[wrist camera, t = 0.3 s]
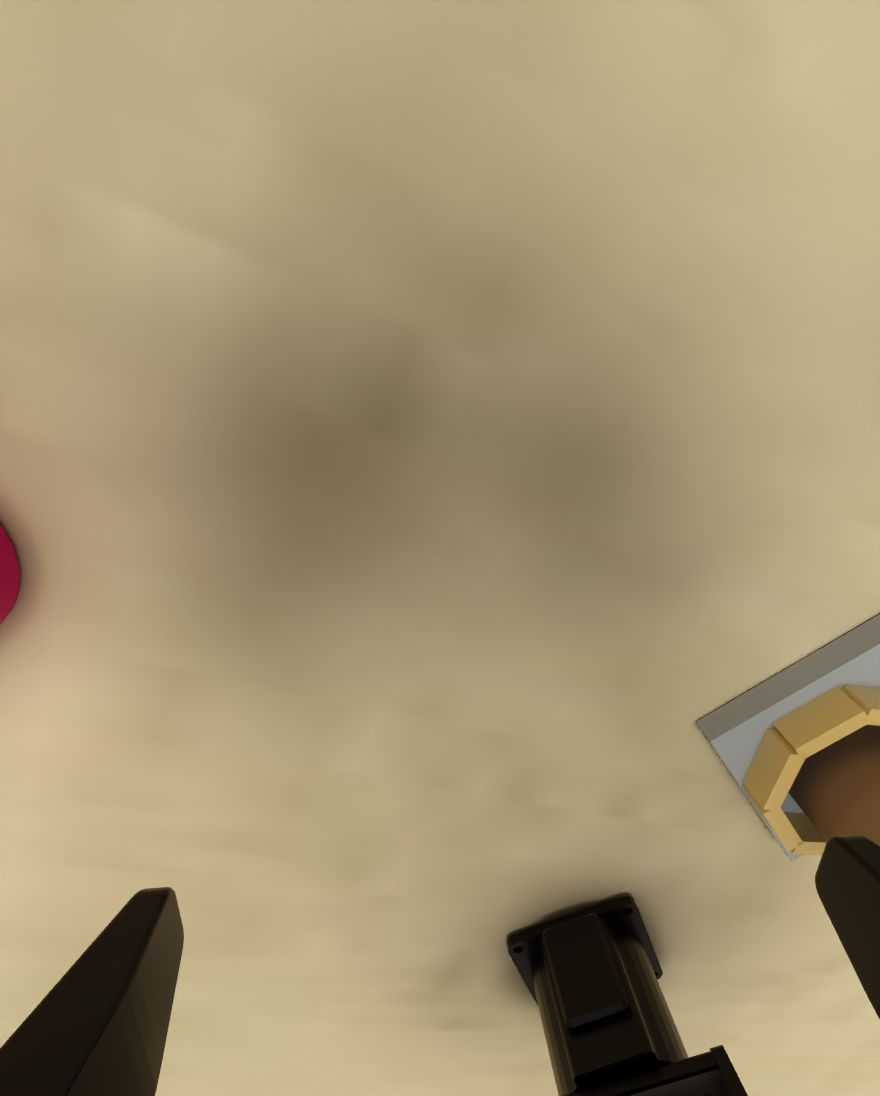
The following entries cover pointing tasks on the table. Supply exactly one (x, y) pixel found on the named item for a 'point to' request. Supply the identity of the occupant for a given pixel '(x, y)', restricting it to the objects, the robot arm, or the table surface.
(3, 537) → the pink bowling pin
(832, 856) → the robot arm
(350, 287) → the table surface
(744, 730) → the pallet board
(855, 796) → the cylinder
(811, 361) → the table surface
